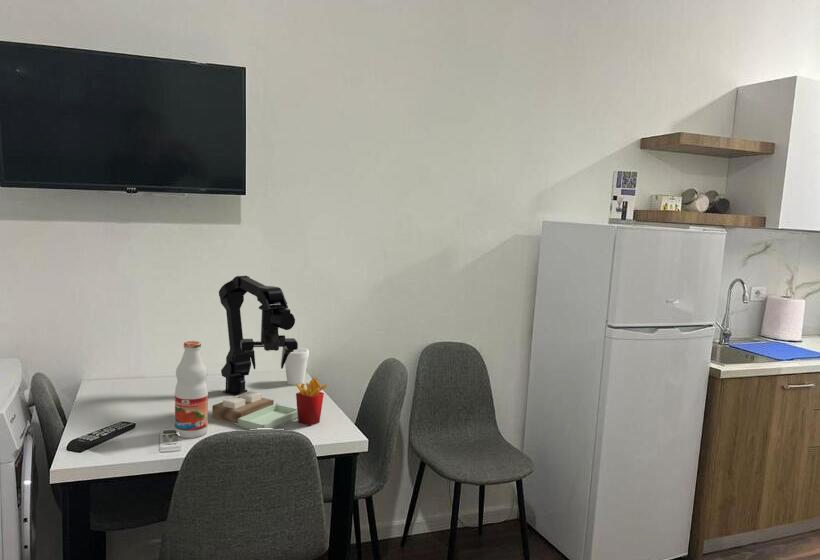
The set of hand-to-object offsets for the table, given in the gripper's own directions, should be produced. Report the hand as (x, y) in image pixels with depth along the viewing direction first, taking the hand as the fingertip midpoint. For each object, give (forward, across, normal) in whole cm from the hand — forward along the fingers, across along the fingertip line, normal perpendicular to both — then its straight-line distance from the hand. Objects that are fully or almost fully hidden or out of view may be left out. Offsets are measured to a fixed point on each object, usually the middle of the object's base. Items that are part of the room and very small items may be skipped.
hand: (268, 368), depth 227 cm
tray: (+13, -1, -15) cm, 20 cm away
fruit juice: (+14, -25, -22) cm, 36 cm away
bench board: (+13, -8, -7) cm, 17 cm away
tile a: (+9, -6, -4) cm, 12 cm away
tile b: (+9, -12, -10) cm, 18 cm away
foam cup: (+14, +14, +27) cm, 34 cm away
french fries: (+13, +13, -19) cm, 26 cm away
